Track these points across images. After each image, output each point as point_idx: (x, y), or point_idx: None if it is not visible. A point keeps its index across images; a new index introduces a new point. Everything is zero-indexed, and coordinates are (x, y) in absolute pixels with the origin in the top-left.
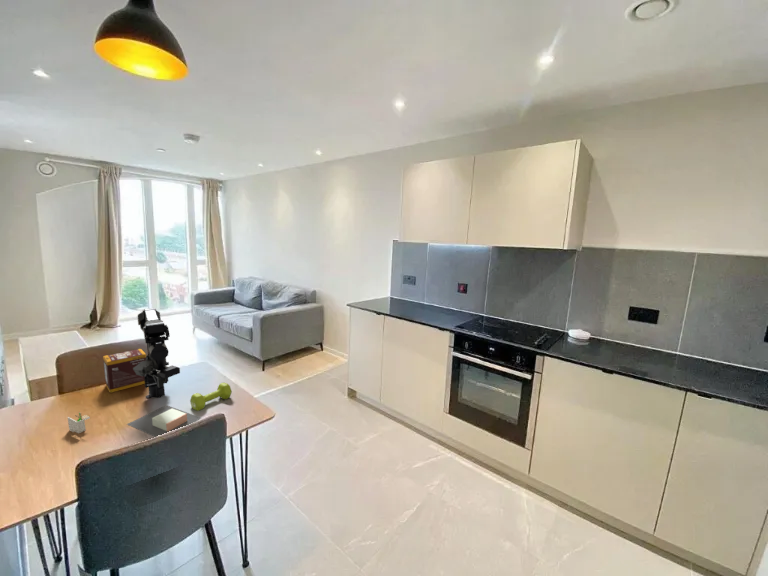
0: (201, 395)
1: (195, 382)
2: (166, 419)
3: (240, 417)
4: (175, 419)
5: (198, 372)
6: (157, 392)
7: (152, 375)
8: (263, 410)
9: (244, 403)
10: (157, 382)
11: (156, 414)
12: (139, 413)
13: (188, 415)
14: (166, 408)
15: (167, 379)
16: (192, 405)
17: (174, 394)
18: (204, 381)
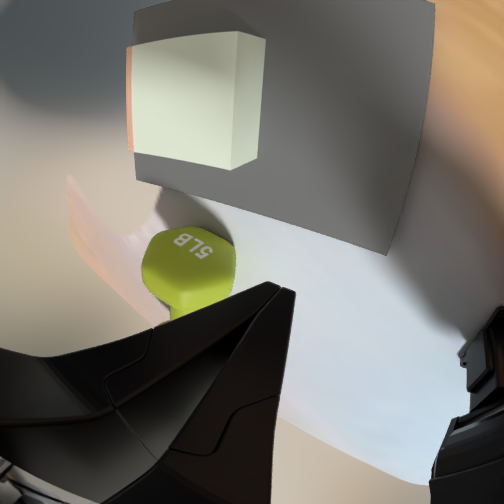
0: (144, 284)
1: (391, 429)
2: (156, 66)
3: (89, 220)
4: (128, 91)
5: (416, 465)
6: (493, 352)
7: (114, 497)
8: (85, 259)
9: (132, 291)
10: (217, 334)
11: (359, 141)
12: (496, 155)
13: (187, 179)
14: (358, 219)
15: (443, 440)
16: (204, 244)
17: (429, 362)
18: (361, 431)
